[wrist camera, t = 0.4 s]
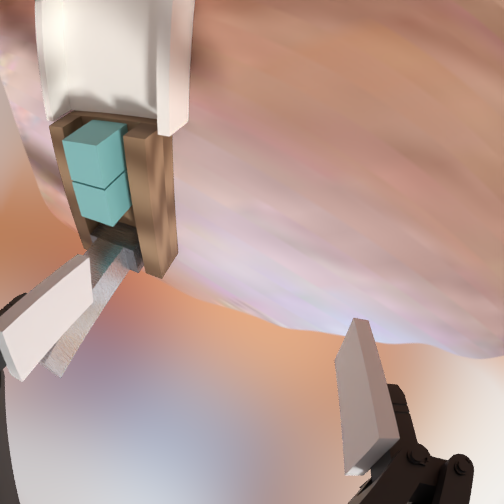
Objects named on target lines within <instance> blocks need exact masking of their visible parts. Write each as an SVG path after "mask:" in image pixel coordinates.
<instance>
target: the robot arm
mask: <svg viewBox="0 0 504 504" xmlns="http://www.w3.org/2000/svg"><path fill="white" fill-rule="evenodd" d="M92 303H93V294H92V284H91V273H90V259H89V257H87V256H83V255H79V254H77V255H76V256H75V257H73V258H72V259H71V260H69V261H68V262H66V263H65V264H64V265H63V266H61V267H60V268H59V269H57V270H56V271H55V272H53V273H52V274H51V275H50V276H48V277H47V278H46V279H45V280H43V281H42V282H41V283H40V284H38V285H37V286H36V287H35V288H33V289H32V290H31V291H30V292H29V293H24V294H21V295H19V296H17V297H15V298H14V299H13V300H12V301H11V302H9V304H7V305H6V306H5V307H4V308H3V309H1V310H0V504H20V502H19V498H18V494H17V489H16V485H15V480H14V475H13V470H12V464H11V457H10V451H9V442H8V434H7V424H6V409H5V380H4V379H5V376H4V371H3V368H4V367H5V366H6V365H7V367H8V370H9V372H10V374H11V375H12V376H14V377H15V378H17V379H18V380H20V381H22V382H23V380H24V379H25V378H26V377H27V375H28V374H29V373H30V372H31V371H32V370H33V369H34V367H35V366H36V365H37V364H38V363H39V361H40V360H41V359H42V358H43V357H44V356H45V355H46V353H47V352H48V351H49V350H50V349H51V348H52V347H53V345H54V344H55V343H56V342H57V341H58V340H59V339H60V338H61V336H62V335H63V334H64V333H65V332H66V331H67V330H68V329H69V328H70V326H71V325H72V324H73V323H74V322H75V321H76V320H77V319H78V318H79V317H80V316H81V315H82V314H83V312H84V311H85V310H86V309H87V308H88V307H89V306H90V305H91V304H92ZM335 368H336V376H337V384H338V385H337V386H338V395H339V405H340V415H341V425H342V426H341V427H342V439H343V453H344V469H345V475H364V474H365V473H366V472H367V471H368V470H370V469H371V478H370V479H369V480H368V481H366V482H365V483H364V484H363V485H362V486H361V487H360V488H361V489H360V490H359V491H358V493H357V494H356V495H355V496H354V497H353V498H352V499H351V501H350V502H349V503H348V504H469V501H470V495H471V488H472V482H473V475H474V467H473V464H472V461H471V460H470V459H469V458H468V457H467V456H465V455H463V454H456V455H453V456H452V457H451V458H450V459H449V460H443V459H440V458H435V457H432V456H430V454H429V452H428V450H427V449H426V448H425V447H424V446H423V445H421V444H419V443H418V442H417V439H416V435H415V431H414V427H413V423H412V420H411V416H410V414H409V409H408V406H407V402H406V399H405V395H404V393H403V392H402V390H401V389H400V388H399V386H398V385H395V384H387V383H386V379H385V375H384V372H383V368H382V365H381V361H380V358H379V354H378V351H377V347H376V344H375V340H374V337H373V334H372V331H371V327H370V324H369V321H368V320H363V319H357V318H353V320H352V323H351V325H350V327H349V330H348V332H347V334H346V336H345V339H344V341H343V343H342V346H341V348H340V350H339V352H338V354H337V356H336V359H335Z"/></svg>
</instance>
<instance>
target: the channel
mask: <svg viewBox="0 0 504 504" xmlns="http://www.w3.org/2000/svg"><path fill="white" fill-rule="evenodd" d="M91 120H101V121H109V122H117V123H125V124H127V129H128V132H127V133H126V134H125V135H123V141H124V150H125V158H126V165H127V173H128V180H129V187H130V193H131V199H132V206H131V207H130V208H129V209H128V210H127V211H126V213H125V214H124V215H123V216H122V217H121V218H120V219H119V220H118V221H119V222H122V223H125V224H128V225H131V226H134V227H136V228H137V233H138V238H139V243H140V248H141V253H142V258H143V262H144V267H145V271H146V273H147V274H150V275H153V276H155V277H158V278H161V279H162V278H163V276H164V275H165V273H166V271H167V270H168V268H169V267H170V265H171V263H172V262H173V260H174V259H175V257H176V256H177V254H178V244H177V231H176V216H175V199H174V179H173V150H172V135H171V136H170V137H168V136H163V135H158V128H157V119H152V118H145V117H137V116H129V115H121V114H112V113H102V112H90V111H77V110H74V111H72V112H71V113H69V114H67V115H66V116H64V117H62V118H61V119H59V120H58V121H56V122H54V123H53V124H51V125H50V126H49V129H50V134H51V138H52V143H53V147H54V152H55V156H56V160H57V164H58V168H59V171H60V175H61V179H62V182H63V186H64V189H65V193H66V196H67V199H68V203H69V206H70V209H71V212H72V215H73V218H74V221H75V224H76V227H77V230H78V233H79V236H80V239H81V241H82V244H83V247H84V249H86V250H88V249H89V247H90V246H91V245H92V244H93V243H92V240H91V237H90V234H91V233H92V232H93V231H94V229H95V228H96V227H97V226H98V225H99V224H100V223H101V222H98V221H95V220H92V219H89V218H86V217H83V216H82V215H81V212H80V209H79V205H78V202H77V199H76V195H75V191H74V188H73V184H72V181H73V180H71V176H70V172H69V168H68V164H67V160H66V156H65V151H64V147H63V142H62V140H63V139H65V138H66V137H67V136H69V135H70V134H72V133H73V132H75V131H76V130H78V129H79V128H81V127H82V126H84V125H85V124H87V123H88V122H90V121H91Z"/></svg>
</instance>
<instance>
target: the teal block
mask: <svg viewBox="0 0 504 504" xmlns="http://www.w3.org/2000/svg"><path fill="white" fill-rule="evenodd" d="M72 184H73V188H74V191H75V195H76V199H77V202H78V205H79V209H80V212H81V215H82V216H83V217H86V218H89V219H92V220H95V221H98V222H101V223H103V224H106V225H109V226H112V227H113V226H114V225H115V224H116V223H117V222H118V220H119V219H120V218H121V217H122V216H123V215H124V214H125V213H126V211H127V210H128V209H129V208H130V207H131V206H132V199H131V193H130V187H129V180H128V173H127V168H126V169H125V170H124V171H123V172H122V173H121V174H120V175H118V176H117V177H116V178H115V179H114V180H113V181H112V182H111V183H110V184H109V185H108V186H107V187H106V188H105V189H103V188H99V187H96V186H92V185H88V184H85V183H81V182H77V181H72Z"/></svg>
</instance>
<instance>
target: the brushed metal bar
mask: <svg viewBox="0 0 504 504" xmlns="http://www.w3.org/2000/svg"><path fill="white" fill-rule="evenodd" d="M90 237H91V240H92V243H93V244H92V245H91V246H90V247H89V249H88V250H87V251H86V252H85V254H84V255H83V256H87V257H89V259H90V273H91V284H92V294H93V303H92V304H91V305H90V306H89V307H88V308H87V309H86V310H85V311H84V312H83V314H82V315H81V316H80V317H79V318H78V319H77V320H76V321H75V322H74V323H73V324H72V325H71V326H70V328H69V329H68V330H67V331H66V332H65V333H64V334H63V335H62V336H61V338H60V339H59V340H58V341H57V342H56V343H55V344H54V345H53V347H52V348H51V349H50V350H49V351H48V352H47V353H46V355H45V356H44V357H43V358H42V359H41V360H40V361H39V364H40V365H42V366H43V367H45V368H46V369H48V370H49V371H50V372H52V373H53V374H55V375H56V376H58V377H59V378H61V377H62V376H63V374H64V372H65V370H66V369H67V367H68V365H69V363H70V361H71V360H72V358H73V357H74V355H75V353H76V352H77V350H78V348H79V347H80V345H81V343H82V342H83V340H84V338H85V337H86V335H87V333H88V332H89V330H90V329H91V327H92V326H93V324H94V322H95V321H96V319H97V318H98V316H99V315H100V313H101V311H102V310H103V308H104V307H105V305H106V304H107V302H108V301H109V299H110V298H111V296H112V295H113V293H114V292H115V290H116V289H117V287H118V286H119V284H120V283H121V282H122V280H123V279H124V277H125V276H126V274H127V273H128V271H129V270H132V271H135V272H137V273H139V272H140V270H141V269H142V267H143V266H144V262H143V258H142V253H141V248H140V243H139V238H138V233H137V228H136V227H134V226H131V225H128V224H125V223H122V222H119V221H118V222H117V223H116V224H115V225H114V226H113V227H112V226H109V225H106V224H103V223H100V224H99V225H98V226H97V227H96V228H95V229H94V231H93V232H92V233H91V234H90Z"/></svg>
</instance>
